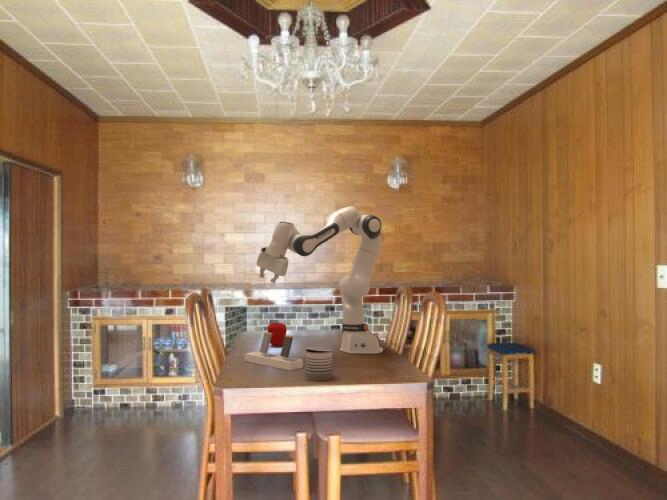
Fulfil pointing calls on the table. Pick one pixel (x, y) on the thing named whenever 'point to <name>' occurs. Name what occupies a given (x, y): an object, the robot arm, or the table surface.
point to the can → (318, 363)
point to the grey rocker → (265, 342)
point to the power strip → (274, 360)
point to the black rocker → (286, 346)
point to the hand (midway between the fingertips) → (266, 280)
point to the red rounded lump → (277, 333)
